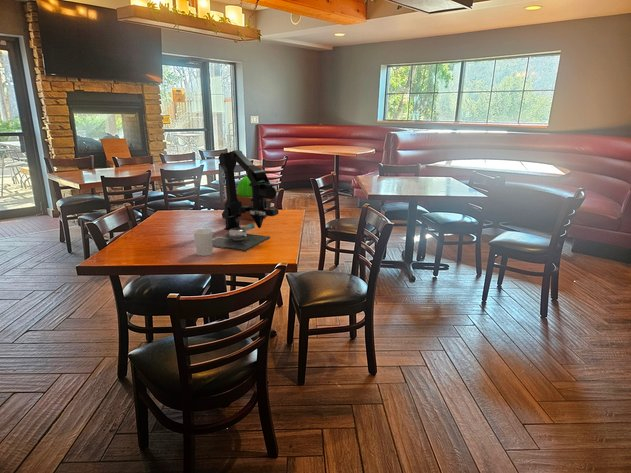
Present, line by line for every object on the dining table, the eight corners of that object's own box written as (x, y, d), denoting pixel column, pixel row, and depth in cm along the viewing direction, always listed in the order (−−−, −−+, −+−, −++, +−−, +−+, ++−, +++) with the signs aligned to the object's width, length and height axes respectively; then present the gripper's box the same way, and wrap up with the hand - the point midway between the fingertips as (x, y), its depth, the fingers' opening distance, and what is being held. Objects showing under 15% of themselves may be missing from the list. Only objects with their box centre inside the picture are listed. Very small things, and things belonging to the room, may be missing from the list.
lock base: (201, 244, 191) (201, 239, 190) (229, 232, 210) (229, 228, 209) (245, 251, 182) (244, 246, 181) (270, 238, 201) (270, 233, 200)
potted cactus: (226, 216, 244) (223, 174, 237) (258, 210, 258) (256, 170, 250) (245, 223, 228) (243, 178, 221) (278, 216, 241) (277, 174, 234)
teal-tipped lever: (240, 239, 190) (240, 232, 189) (226, 237, 193) (225, 231, 192) (259, 230, 204) (259, 224, 204) (246, 228, 208) (245, 222, 207)
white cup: (204, 257, 174) (202, 235, 171) (191, 254, 178) (189, 232, 175) (217, 252, 181) (216, 230, 178) (205, 249, 185) (203, 228, 182)
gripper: (283, 194, 198) (284, 225, 203) (250, 191, 205) (252, 222, 210) (272, 199, 188) (273, 231, 193) (237, 195, 196) (239, 227, 200)
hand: (259, 227), depth 199 cm, fingers closed
